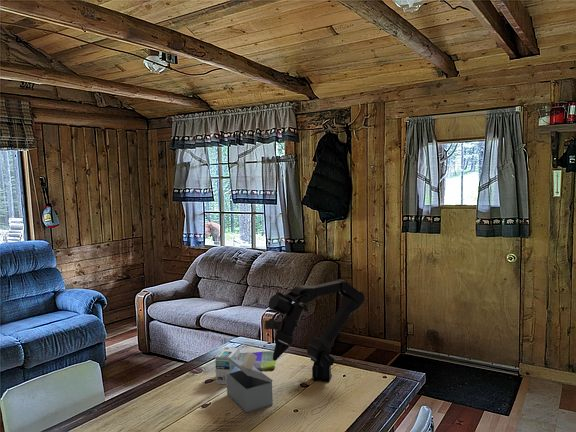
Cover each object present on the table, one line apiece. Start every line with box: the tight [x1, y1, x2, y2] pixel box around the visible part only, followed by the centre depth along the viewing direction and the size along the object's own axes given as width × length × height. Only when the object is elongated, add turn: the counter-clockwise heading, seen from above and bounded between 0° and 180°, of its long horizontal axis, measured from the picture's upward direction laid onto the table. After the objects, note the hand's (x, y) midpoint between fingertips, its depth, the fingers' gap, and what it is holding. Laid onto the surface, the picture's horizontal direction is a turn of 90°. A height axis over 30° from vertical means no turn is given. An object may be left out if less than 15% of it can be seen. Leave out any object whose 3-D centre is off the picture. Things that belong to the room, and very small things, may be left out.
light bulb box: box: [214, 346, 241, 385], centre depth 179 cm, size 11×7×11 cm, turn 169°
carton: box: [226, 370, 274, 414], centre depth 160 cm, size 10×16×8 cm, turn 31°
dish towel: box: [239, 350, 277, 372], centre depth 194 cm, size 18×24×3 cm
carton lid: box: [228, 351, 274, 384], centre depth 161 cm, size 10×16×6 cm, turn 31°
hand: (273, 358), depth 165 cm, fingers open, 9 cm apart
